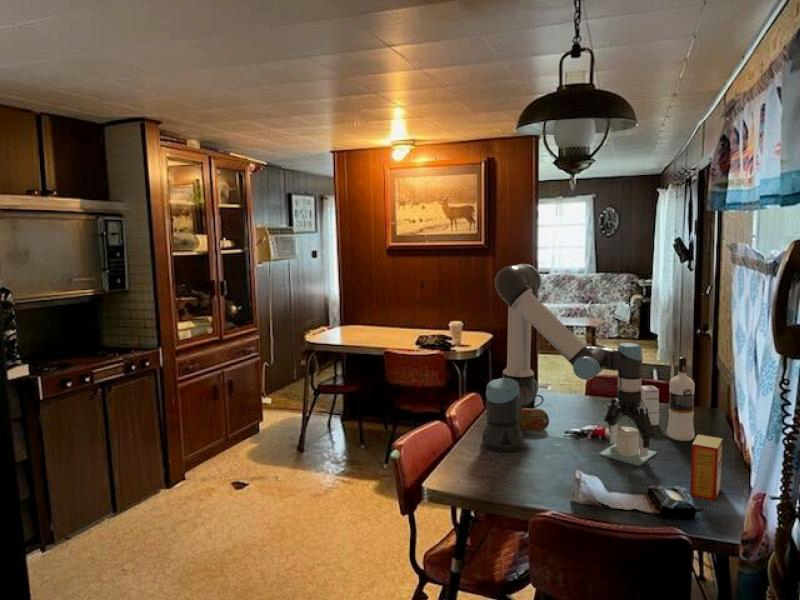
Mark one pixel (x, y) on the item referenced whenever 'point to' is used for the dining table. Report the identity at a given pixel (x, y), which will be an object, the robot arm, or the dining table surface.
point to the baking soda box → (706, 467)
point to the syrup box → (650, 402)
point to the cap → (627, 441)
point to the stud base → (634, 460)
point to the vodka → (681, 405)
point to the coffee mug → (531, 405)
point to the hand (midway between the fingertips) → (628, 449)
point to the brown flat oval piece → (533, 419)
